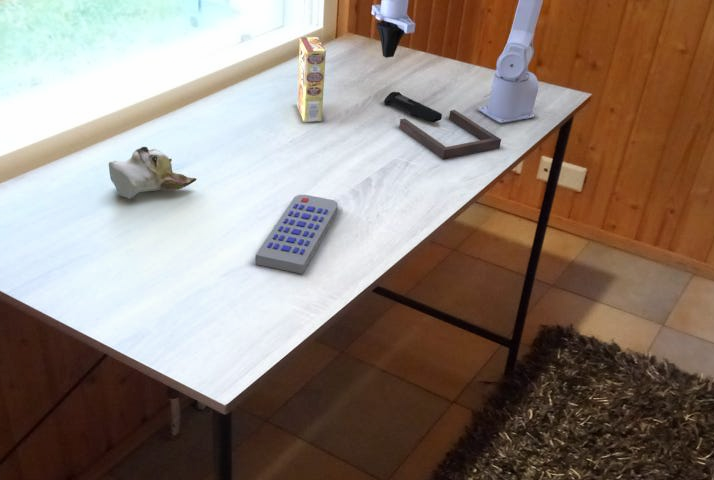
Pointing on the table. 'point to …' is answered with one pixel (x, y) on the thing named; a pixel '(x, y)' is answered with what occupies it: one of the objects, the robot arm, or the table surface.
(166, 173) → the ceramic sculpture
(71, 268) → the table surface
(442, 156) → the dock
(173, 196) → the table surface
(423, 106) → the electric trimmer
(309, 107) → the candy box
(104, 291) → the table surface
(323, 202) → the remote control
